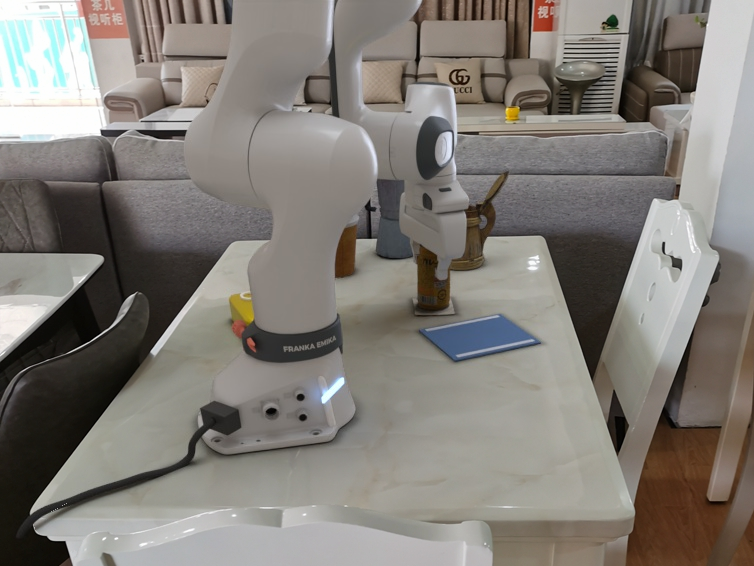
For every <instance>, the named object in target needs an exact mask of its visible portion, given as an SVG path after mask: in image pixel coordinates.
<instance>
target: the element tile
mask: <svg viewBox="0 0 754 566" xmlns="http://www.w3.org/2000/svg"><path fill="white" fill-rule="evenodd" d="M228 303H229V309H230V316H231V321H232V322H233V323H234V322H235V321H236V320H242V321H244V322H245V323H246V325H247V326H248V325H249V324H250V323H251V322H252V321H253V319H254V314H253V307H252V300H251V293H250V290H249V291H244V292H239V293H233V294H231V295H230V296H229V298H228Z"/></svg>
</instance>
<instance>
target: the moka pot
mask: <svg viewBox="0 0 754 566" xmlns="http://www.w3.org/2000/svg"><path fill="white" fill-rule="evenodd" d="M404 188H405V187H404V180H385V179H377V182H376V191H377V199H378V200H377V201H378V205H379V209H378V208H377V207H376V206H371V205H370V202H369V201H368V203H367V204H366V205H365V206H364V209H365V211H367V212H371V213H375V212H376V211H377V209H378V210H379V212H380V216H379V221H378V222H379V223H378V228H377V229H378V230H377V237H376V243H375V252H376V254H377V255H379V256H381V257H384V258H388V259H407V258H410V257H411V258H412V257H413V252H412V248H411V245H410V238H409V237H407V236H406V235H404V234H403V233H401V230H400V226H399V212H400V199H401V195H402V193H404Z"/></svg>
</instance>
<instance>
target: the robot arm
mask: <svg viewBox="0 0 754 566" xmlns="http://www.w3.org/2000/svg"><path fill="white" fill-rule="evenodd" d="M422 2H423V0H232V10H231V11H232V12H231V31H230V40H229V46H228V51H227V55H226V60H225V63H224V66H223V69H222V73H221V75H220V77H219V78H220V79H219V81H218V82H217V83H218V84H217V86H216V88H215V90H214V93H213V94H212V96H211V98H210V100H209V102H208V103H207V105H206V106H204V108H203V109H202V111H200V112H199V113H198V114H197V115H196V116H195V117H194V118H193V120H191V122H190V124H189V125H188V127H187V129H186V132H185V136H184V140H183V160H184V164H185V165H184V166H185V168H186V171H187V174H188V176H189V178H190V180H191V182H192V183H193V184H194V186H195V187H196V188H197V189H198V190H200V191H201V192H203V193H204V194H207V195H209V196H211V197H213V198H215V199H217V200H220V201H222V202H224V203H227V204H230V205H233V206H239V207H246V208H251V209H253V208H254V209H259V210H266V211H270V214H271V216H272V233H271V236H270V240H269V241H267V242H265V243H264V244H262V245H261V246H259V247H258V248H257V249H256V250H255V251H254V252H253V254H252V256H251V257H250V259H249V261H248V263H247V264H248V265H247V278H248V279H247V280H248V285H249V291H250V293H251V300H252V307H253V314H254V319H253V321H252V322H251V323H250V324H249V325H248V326H247V325H246V323H245V322H244V321H242V320H236V321H235V322H233V323H232V324H231V330H232V332H233V333H234V334H235V336H236V337H237V338H238V339H241V343H242V347H243V350H242V351H240V353H239V354H237V356H235V357H234V358H233V360H231V362H229V363H228V364H226V366H225V367H224V368H223V369H221V370H220V372H218V373H217V374H216V375H215V376H214V378H213V380H212V383H211V389H210V402H209V403H207V404H205V405H203V406H201V407H199V412H198V415H197V427H198V429H197V430H196V431H195V432H194V433H193V434H192V436H191V438H190V439H189V442H188V447H187V454H186V455H185V456H184V457H182V458H181V460H179V461H177V462H176V463H174V464H172V465H169V466H165V467H162V468H158V469H153V470H148V471H144V472H141V473H137V474H135V475H131V476H128V477H126V478H125V477H124V478H122V479H119V480H115V481H112V482H109V483H106V484H102V485H99V486H95V487H93V488H90V489H87V490H85V491H81V492H80V493H77V494H75V495H73V496H69V497H68V498H64V499H62V500H59V501H55V502H52V503H49V504H47V505H44V506H41V507H40V508H38V509H37V510H35V511H33V512H32V513H31V514H30V515H29V516H27V518H26V519H25V520H24V521H23V522H22V524H21V525H20V527H19V529H18V530H17V532H16V535H15V538H16V539H23V538H24V537H26V536H27V535H28V532H29V530H30V529H31V528H32V526H33V525H35V523H36V522H37V521H39V520H40V519H41V518H43V517H44V516H46V515H48V514H51V513H53V512H56V511H58V510H62V509H64V508H67V507H71V506H73V505H75V504H78V503H81V502H83V501H86V500H88V499H90V498H93V497H96V496H99V495H102V494H105V493H108V492H111V491H115V490H118V489H122V488H124V487H127V486H130V485H133V484H134V485H135V484H136V483H139V482H142V481H146V480H149V479H154V478H155V479H156V478H159V477H162V476H164V475H167V474H170V473H173V472H175V471H178V470H180V469H183V468H185V467H186V466H188V465H189V464H190V463H191V462H192V461H193V460H194V458H195V456H196V452H197V450H196V449H197V444H198V442H199V441H200V439H201V438H202V440H203V442H204V443H205V444H206V445H207V446H208V447H209V448H210V449H212V450H214V451H215V452H217V453H219V454H222V455H235V454H243V453H251V452H258V451H266V450H274V449H281V448H290V447H296V446H305V445H311V444H319V443H320V444H321V443H327V442H331V441H333V439H335V437H336V436H337V433H338V431H339V430H340V429H341V428H342V427H344V426H345V425H346V424H348V423H349V422H350V421H351V420H352V419H353V418H354V416H355V414H356V412H357V411H356V410H357V409H356V404H355V402H354V399H353V397H352V394H351V391H350V388H349V385H348V380H347V376H346V373H345V367H344V362H343V357H342V355H343V354H344V348H343V347H344V346H343V345H344V333H343V326H342V322H341V321H342V320H341V315H340V314H339V313H337V310H338V309H337V298H336V297H337V296H336V295H337V293H336V277H335V256H336V251H337V246H338V243H339V240H340V237H341V234H342V232H343V230H344V228H345V227H346V225H347V224H348V222H349V221H350V220H351V219H352V218H353V216H354V215H356V214H357V215H358V213H359V212H361V211H362V210H363V209H365V205H366V204H367V203H368V202H369V201H371V200H370V199H371V198H372V196H373V194H374V192H375V188H376V187H377V179H385V180H404V187H405V188H404V193H402V195H401V199H400V212H399V226H400V230H401V233H403V234H404V235H406V236H407V237H409V238H410V245H411V248H412V252H413V256H412V262H413V264H415V265H417V257H418V255H419V253H420V252H419V248H420V246H419V244H421V245H422V246H423V247H425V248H427V249H428V250H430V251H431V252H433V253H435V254H436V255H437V260H438V261H439V262H438V267H437V268H435V277H436V278H437V279H439V280H446V279H447V277H448V268H449V266H450V263H451V260H452V259H457V258H461V257H462V255H463V253H464V251H465V244H466V214H465V212H464V209H468V206H469V205H470V203H469V202H470V198H469V196H468V194H467V193H466V191H465V190H464V188H463V187H462V186H461V184H460V181H459V180H458V178H457V165H456V160H455V152H456V148H457V145H458V112H457V101H456V96H455V91H454V88H453V86H451V85H450V84H447V83H446V82H445V83H444V82H434V81H415V82H411V83H409V84H408V85H407V88H406V93H405V101H404V110H403V111H401V112H399V111H398V112H397V111H375V110H372V109H370V108H369V107H368V106H367V105H366V104H365V102H364V84H363V83H364V82H363V51H364V49H365V48H366V47H367V46H369V45H370V44H373V43H374V42H377V41H379V40H380V39H382V38H385V37H387V36H389V35H391V34H393V33H395V32H397V31H398V30H399V29H401V28H402V27H403V26H405V25H406V24H407V23H408V22H409V21H410V20H411V19H412V18H413V17H414V15H415V14H416V13H417V11H418V10H419V9H420V6H421V4H422ZM327 60H328V72H329V88H330V103H331V105H330V106H331V114H328V113H322V112H310V111H308V112H307V111H295V110H293V108H294V103H295V101H296V98H297V95H298V93H299V90H300V88H301V87H302V85H303V83H304V82H305V80H307V78H308V77H309V76H310V75H312V74H313V73H314V72H316V71H317V70H319V69H320V68H321V67H322V66H323V65H324V64H326V63H325V62H326V61H327ZM66 503H67V504H66ZM64 504H65V505H64ZM62 505H63V506H62ZM57 508H58V509H57ZM55 509H56V510H55ZM53 510H54V511H53ZM51 511H52V512H51Z"/></svg>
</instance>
